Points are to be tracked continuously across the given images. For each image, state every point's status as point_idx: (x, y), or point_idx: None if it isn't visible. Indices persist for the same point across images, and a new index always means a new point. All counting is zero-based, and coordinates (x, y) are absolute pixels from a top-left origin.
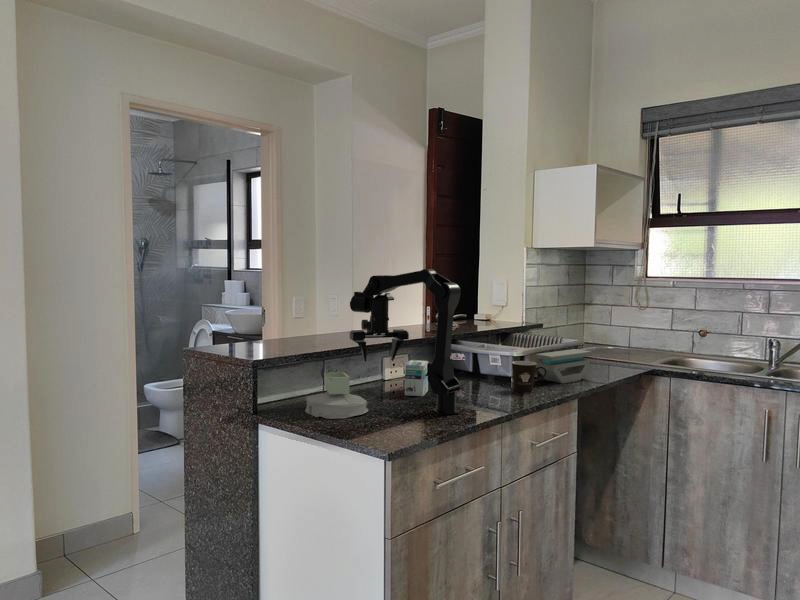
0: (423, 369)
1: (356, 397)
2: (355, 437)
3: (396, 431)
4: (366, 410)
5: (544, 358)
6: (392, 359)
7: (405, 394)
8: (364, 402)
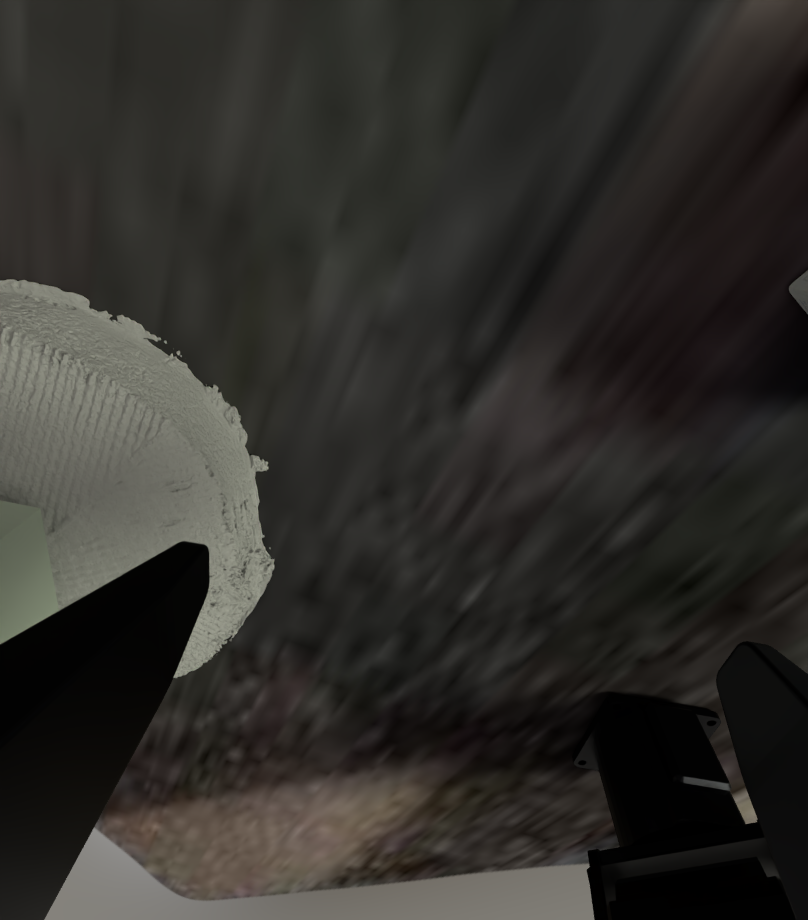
0: None
1: None
2: (119, 812)
3: (279, 818)
4: (244, 607)
5: None
6: (725, 710)
7: (794, 293)
8: (207, 657)
